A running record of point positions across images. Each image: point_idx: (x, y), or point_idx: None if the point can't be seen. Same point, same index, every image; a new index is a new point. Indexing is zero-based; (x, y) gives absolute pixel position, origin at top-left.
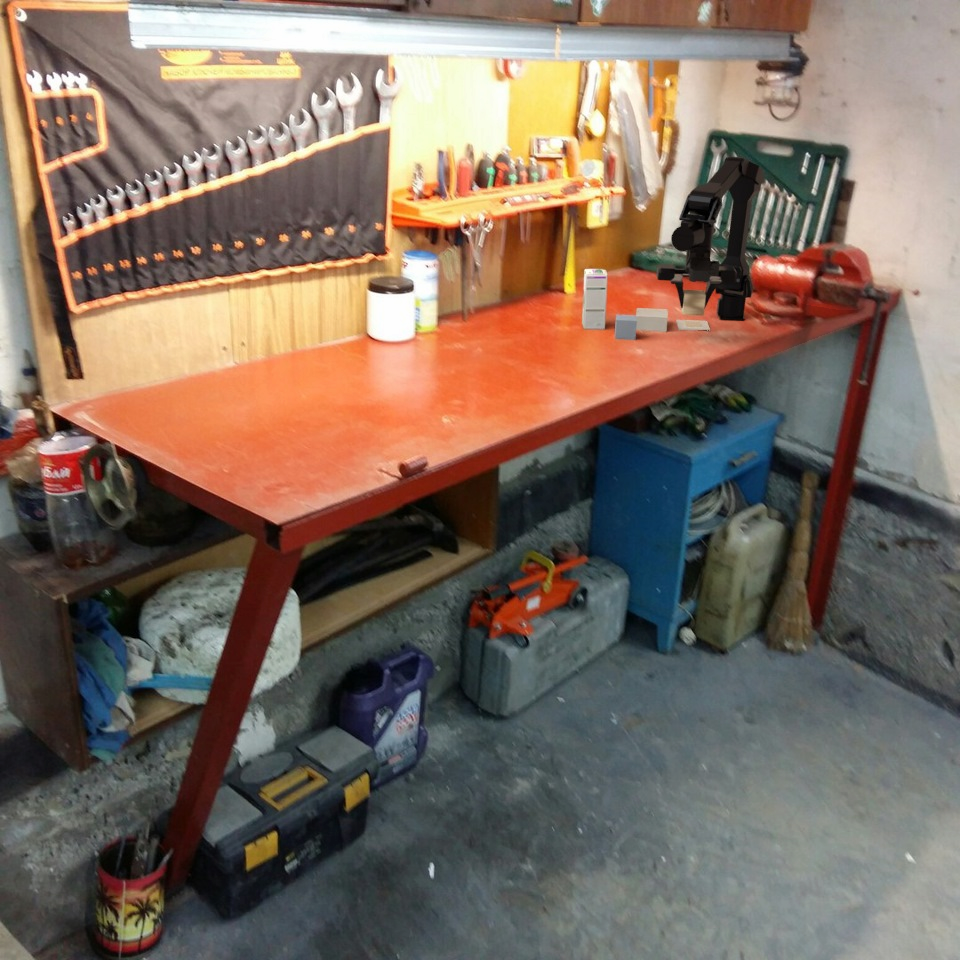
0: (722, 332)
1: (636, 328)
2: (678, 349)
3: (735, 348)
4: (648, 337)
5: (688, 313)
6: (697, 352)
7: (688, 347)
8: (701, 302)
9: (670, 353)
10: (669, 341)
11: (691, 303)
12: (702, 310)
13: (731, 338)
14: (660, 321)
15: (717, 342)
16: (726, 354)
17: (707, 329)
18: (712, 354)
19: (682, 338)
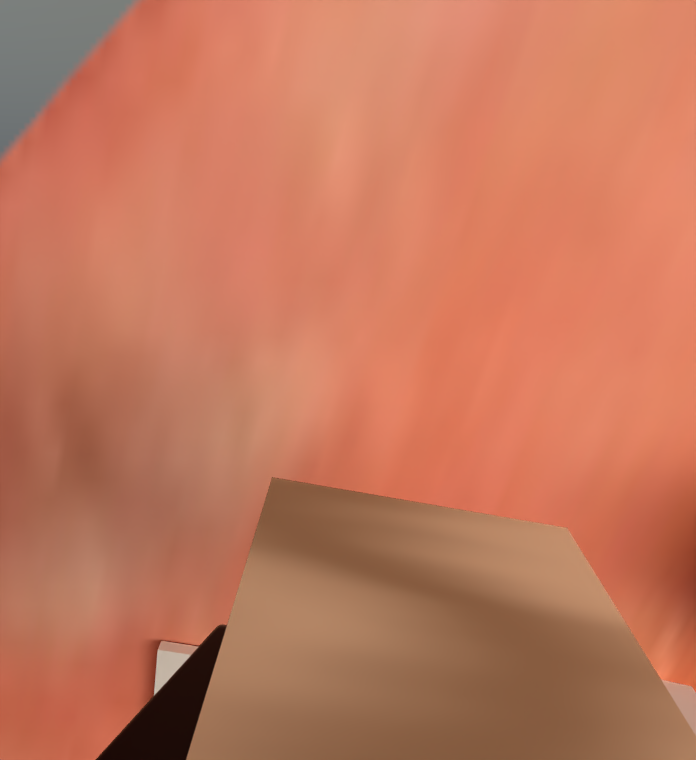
0: (76, 609)
1: (687, 695)
2: (557, 204)
3: (24, 211)
4: (672, 532)
5: (495, 530)
6: (409, 97)
7: (444, 261)
8: (304, 643)
9: (687, 74)
10: (547, 430)
11: (507, 653)
12: (286, 527)
13: (27, 478)
14: None
15: (156, 386)
16: (138, 11)
17: (177, 651)
18: (279, 18)
19: (414, 497)
